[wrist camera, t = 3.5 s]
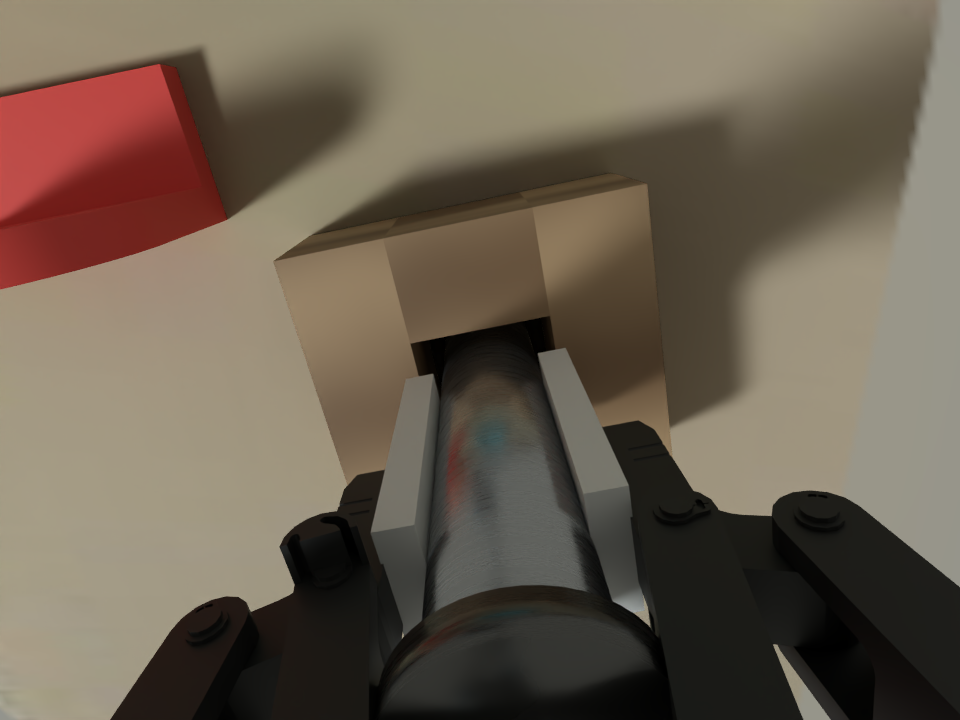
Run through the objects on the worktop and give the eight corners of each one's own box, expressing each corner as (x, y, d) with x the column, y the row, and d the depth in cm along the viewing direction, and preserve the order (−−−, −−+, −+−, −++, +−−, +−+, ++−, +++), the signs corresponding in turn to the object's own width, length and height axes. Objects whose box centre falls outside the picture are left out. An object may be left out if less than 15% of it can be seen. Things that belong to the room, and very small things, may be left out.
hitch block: (309, 236, 19) (273, 261, 16) (611, 172, 19) (647, 183, 15) (386, 488, 23) (372, 558, 19) (641, 441, 23) (676, 503, 19)
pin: (419, 303, 20) (326, 671, 7) (534, 280, 20) (686, 609, 6) (445, 406, 22) (412, 884, 8) (551, 385, 22) (706, 839, 8)
